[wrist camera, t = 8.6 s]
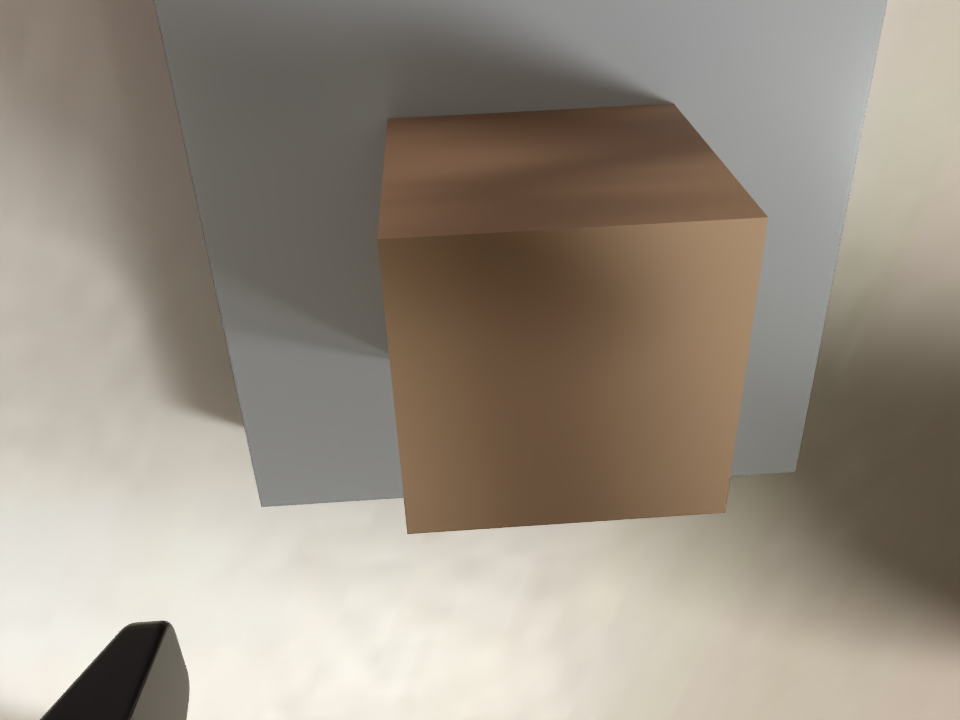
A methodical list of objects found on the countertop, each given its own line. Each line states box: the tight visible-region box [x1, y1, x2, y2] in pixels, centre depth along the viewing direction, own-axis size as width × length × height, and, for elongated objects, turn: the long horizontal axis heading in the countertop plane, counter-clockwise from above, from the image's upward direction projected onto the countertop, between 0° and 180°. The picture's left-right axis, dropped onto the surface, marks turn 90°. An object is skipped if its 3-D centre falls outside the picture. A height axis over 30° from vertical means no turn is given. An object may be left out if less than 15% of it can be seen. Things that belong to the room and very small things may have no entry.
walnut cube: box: [377, 104, 768, 534], centre depth 15 cm, size 5×5×5 cm
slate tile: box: [154, 0, 887, 507], centre depth 18 cm, size 12×12×2 cm
